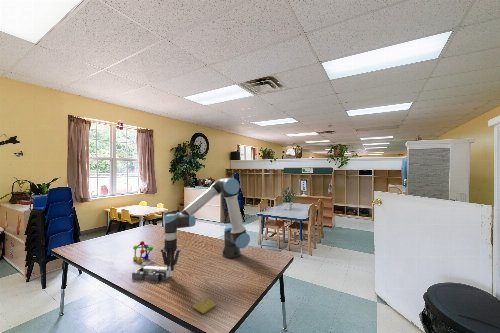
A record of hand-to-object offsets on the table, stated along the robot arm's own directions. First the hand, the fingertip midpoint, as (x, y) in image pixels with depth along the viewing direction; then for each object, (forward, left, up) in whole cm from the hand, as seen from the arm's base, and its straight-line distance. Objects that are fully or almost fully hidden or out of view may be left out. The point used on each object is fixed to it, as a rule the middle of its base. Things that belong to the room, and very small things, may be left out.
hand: (170, 275), depth 141 cm
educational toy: (+37, -24, -2) cm, 44 cm away
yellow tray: (-32, +26, -2) cm, 42 cm away
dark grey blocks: (+13, 0, -2) cm, 13 cm away
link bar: (+10, 0, -2) cm, 10 cm away
